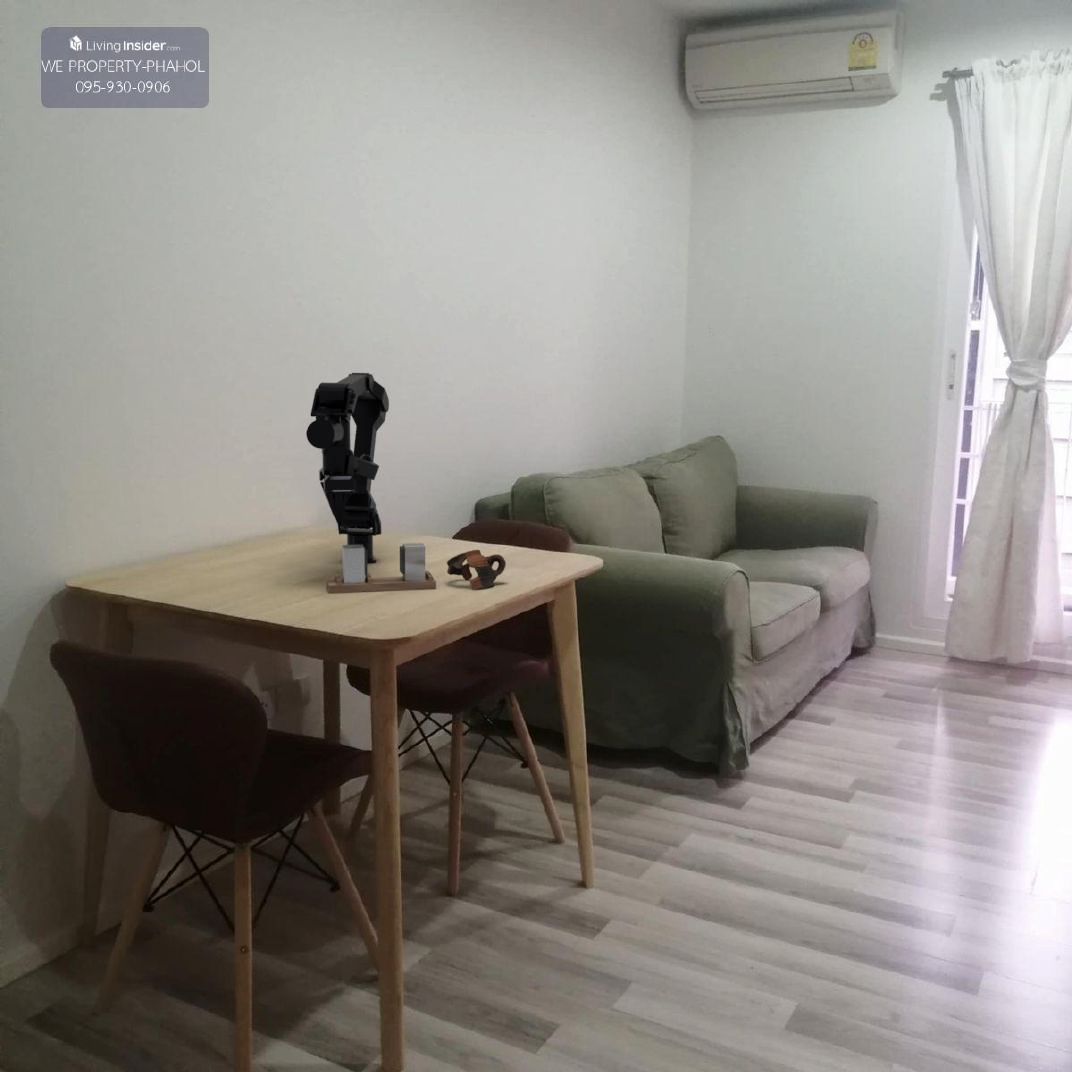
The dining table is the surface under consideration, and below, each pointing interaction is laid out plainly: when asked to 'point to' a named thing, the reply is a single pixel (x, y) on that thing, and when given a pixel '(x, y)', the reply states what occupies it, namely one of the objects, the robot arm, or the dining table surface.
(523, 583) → the dining table surface
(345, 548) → the block
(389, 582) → the rail
